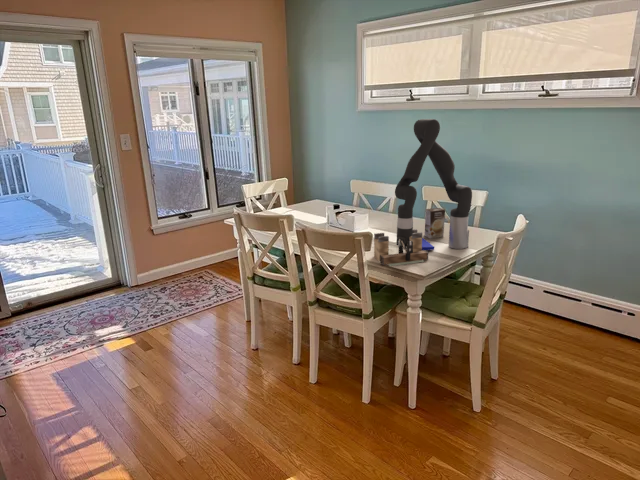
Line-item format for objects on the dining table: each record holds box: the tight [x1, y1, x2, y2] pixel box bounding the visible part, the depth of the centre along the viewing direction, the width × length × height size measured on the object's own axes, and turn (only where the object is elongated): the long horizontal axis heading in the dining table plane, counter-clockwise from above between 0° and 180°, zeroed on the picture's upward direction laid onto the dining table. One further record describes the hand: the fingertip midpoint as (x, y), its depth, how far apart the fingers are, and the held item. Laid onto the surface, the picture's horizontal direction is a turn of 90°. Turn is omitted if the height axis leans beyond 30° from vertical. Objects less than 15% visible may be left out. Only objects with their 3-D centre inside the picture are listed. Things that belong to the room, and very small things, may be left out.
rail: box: [379, 250, 429, 266], centre depth 219 cm, size 24×4×4 cm, turn 103°
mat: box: [387, 260, 425, 267], centre depth 220 cm, size 18×7×1 cm, turn 103°
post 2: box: [410, 228, 423, 252], centre depth 227 cm, size 5×7×12 cm
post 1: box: [373, 232, 390, 262], centre depth 224 cm, size 5×7×12 cm
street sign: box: [422, 237, 435, 251], centre depth 249 cm, size 34×3×10 cm
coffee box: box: [424, 207, 446, 239], centre depth 255 cm, size 9×6×16 cm
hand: (404, 257), depth 219 cm, fingers open, 8 cm apart
